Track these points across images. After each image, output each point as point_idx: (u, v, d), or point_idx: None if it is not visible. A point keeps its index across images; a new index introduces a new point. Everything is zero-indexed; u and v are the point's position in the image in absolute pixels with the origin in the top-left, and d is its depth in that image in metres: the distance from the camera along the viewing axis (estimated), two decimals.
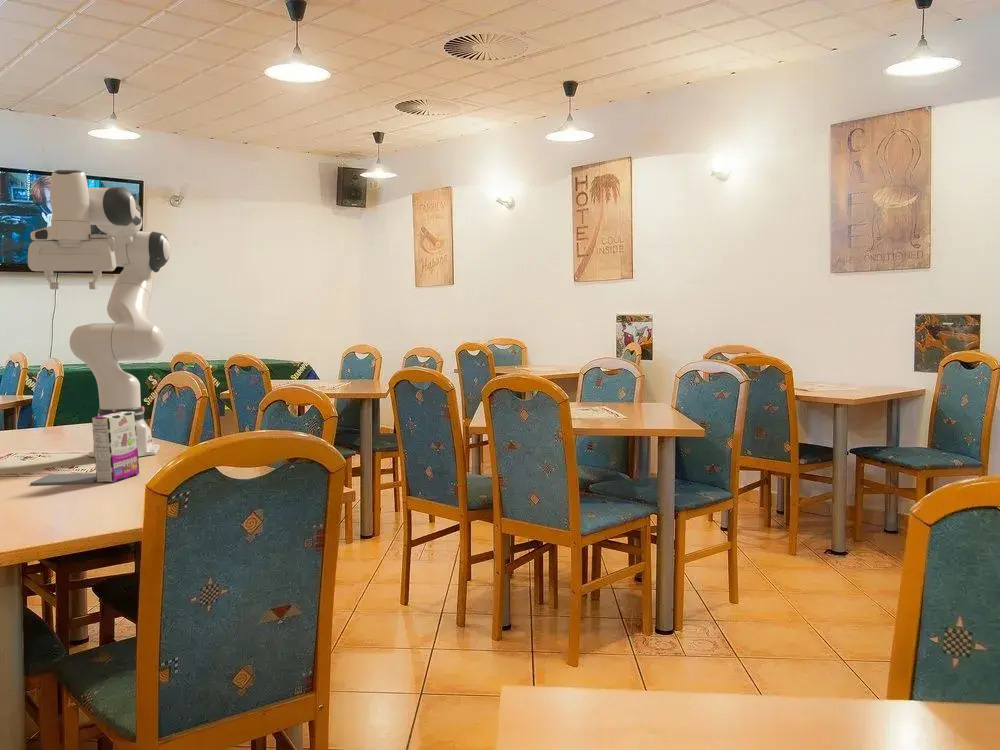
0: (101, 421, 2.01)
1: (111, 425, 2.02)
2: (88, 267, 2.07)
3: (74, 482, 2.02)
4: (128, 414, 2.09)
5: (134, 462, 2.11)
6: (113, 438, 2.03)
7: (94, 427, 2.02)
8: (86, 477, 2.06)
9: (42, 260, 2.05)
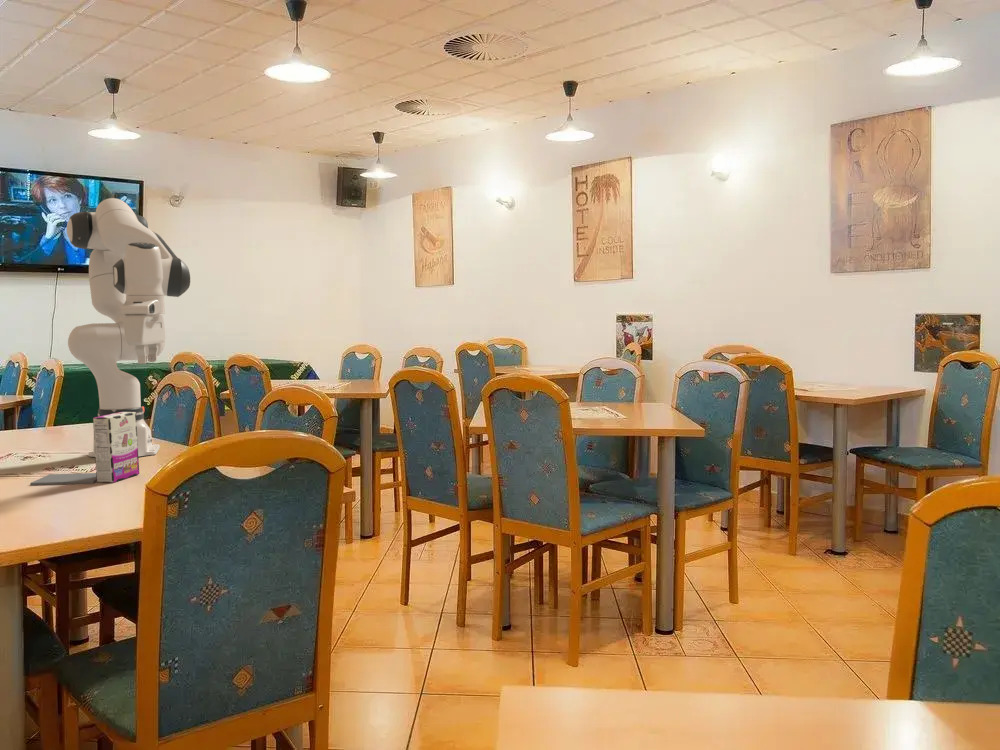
0: (101, 422, 2.01)
1: (112, 425, 2.02)
2: (159, 340, 2.11)
3: (74, 482, 2.02)
4: (129, 414, 2.09)
5: (134, 462, 2.11)
6: (113, 438, 2.03)
7: (95, 427, 2.02)
8: (86, 477, 2.06)
9: (145, 334, 2.00)
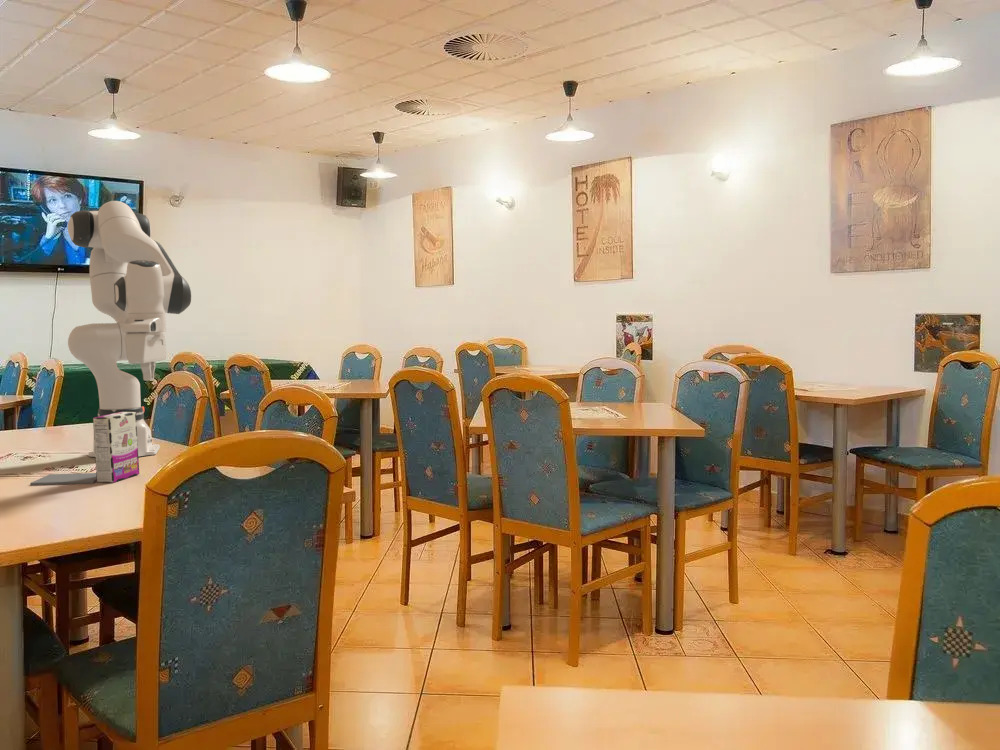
0: (101, 422, 2.01)
1: (112, 425, 2.02)
2: (160, 357, 2.11)
3: (74, 482, 2.02)
4: (129, 414, 2.09)
5: (134, 462, 2.11)
6: (113, 438, 2.03)
7: (95, 427, 2.02)
8: (86, 477, 2.06)
9: (147, 352, 2.00)
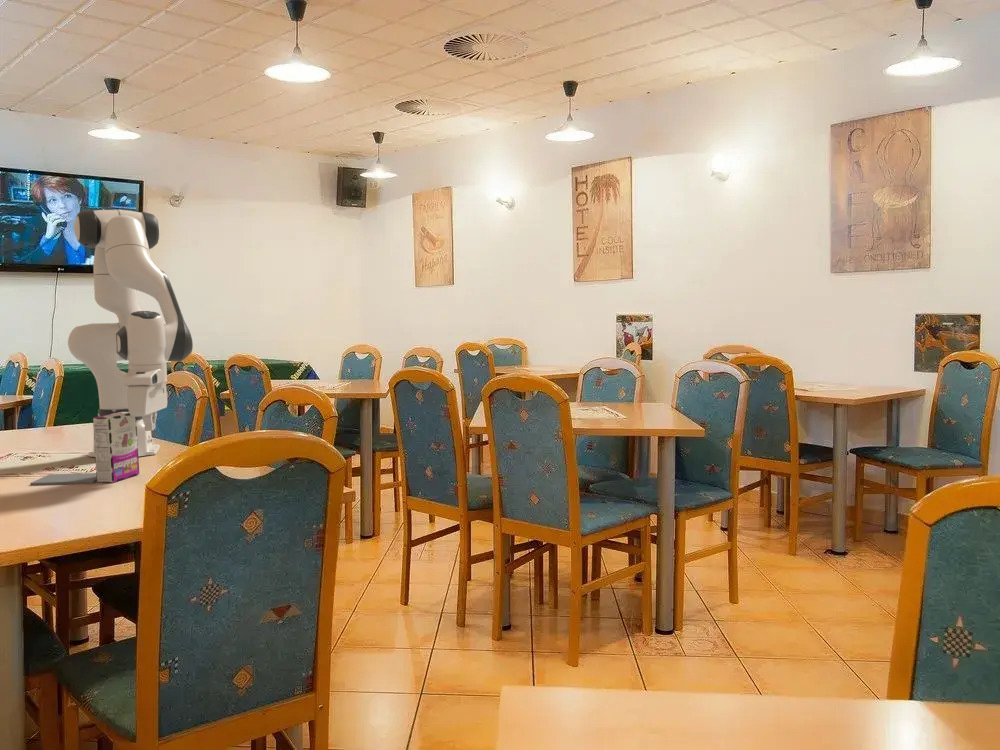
0: (101, 422, 2.01)
1: (112, 425, 2.02)
2: (161, 407, 2.12)
3: (74, 482, 2.02)
4: (129, 414, 2.09)
5: (134, 462, 2.11)
6: (113, 438, 2.03)
7: (95, 427, 2.02)
8: (86, 477, 2.06)
9: (148, 404, 2.01)
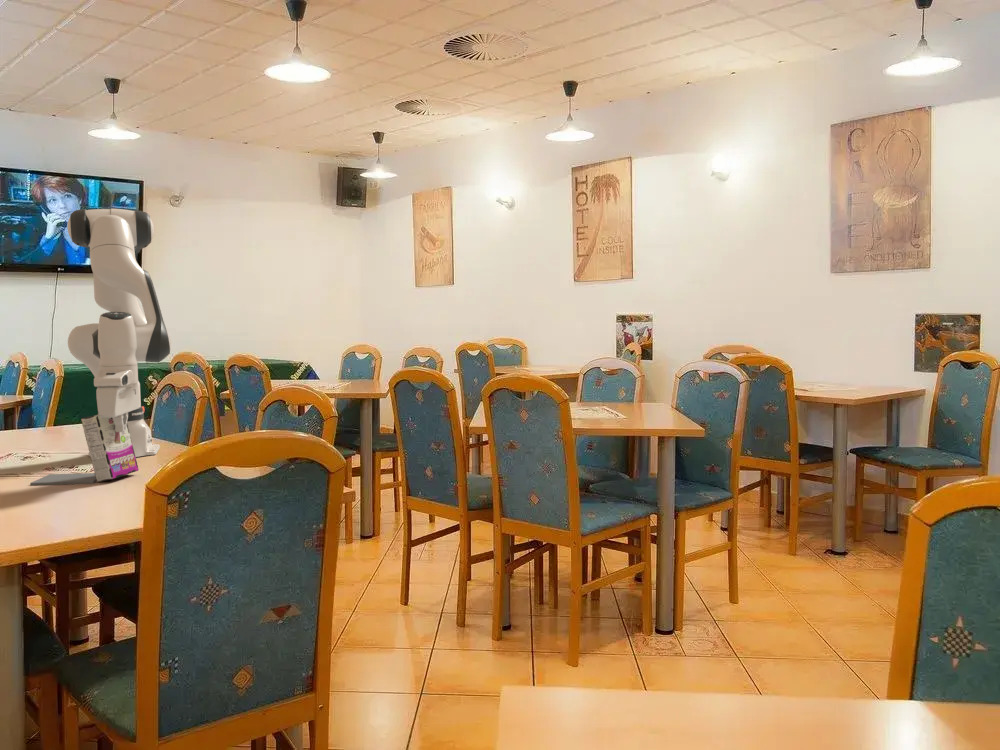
0: (90, 420, 2.02)
1: (101, 422, 2.02)
2: (133, 407, 2.11)
3: (74, 482, 2.02)
4: None
5: (131, 459, 2.11)
6: (105, 435, 2.03)
7: (85, 427, 2.02)
8: (86, 477, 2.06)
9: (118, 405, 2.01)
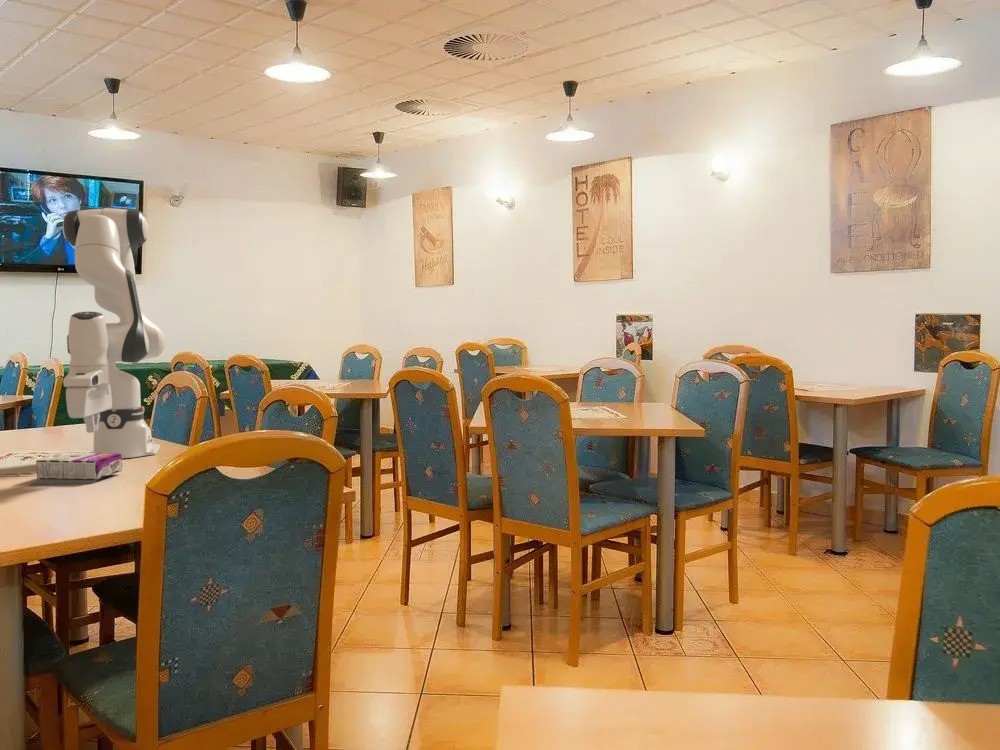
0: (39, 468, 2.05)
1: (45, 459, 2.05)
2: (105, 408, 2.11)
3: (74, 482, 2.02)
4: (57, 454, 2.12)
5: (105, 454, 2.12)
6: (58, 459, 2.05)
7: (45, 475, 2.05)
8: None
9: (88, 406, 2.00)
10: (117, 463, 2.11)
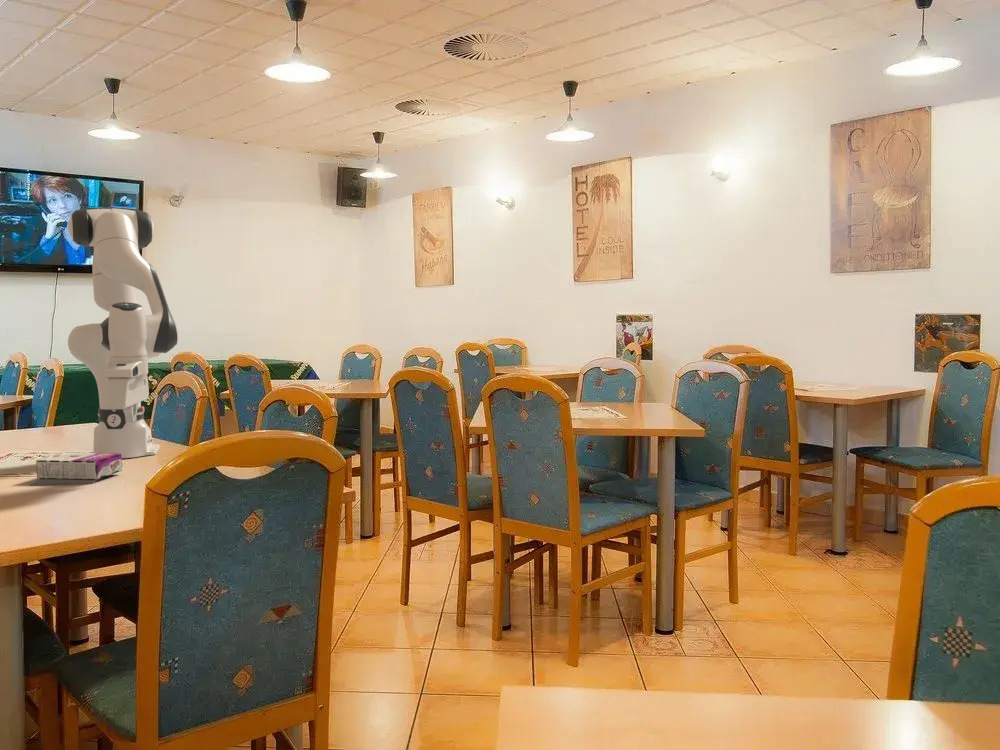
0: (39, 468, 2.05)
1: (45, 459, 2.05)
2: (142, 398, 2.12)
3: (74, 482, 2.02)
4: (57, 454, 2.12)
5: (105, 454, 2.12)
6: (58, 459, 2.05)
7: (45, 475, 2.05)
8: None
9: (129, 397, 2.01)
10: (117, 463, 2.11)
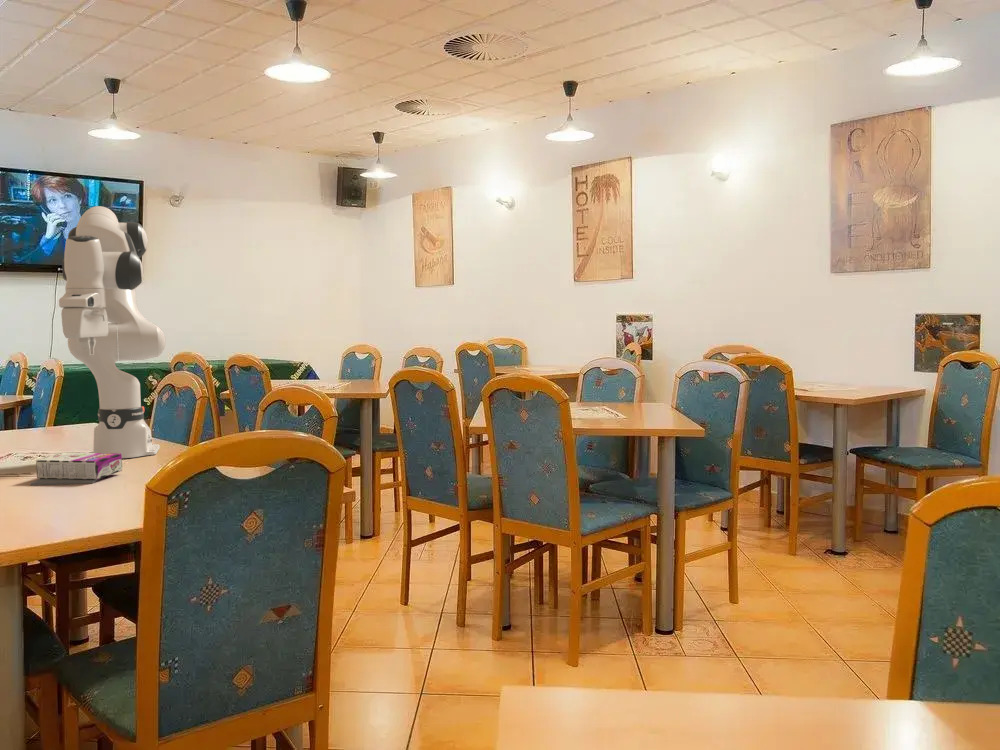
0: (39, 468, 2.05)
1: (45, 459, 2.05)
2: (101, 333, 2.11)
3: (74, 482, 2.02)
4: (57, 454, 2.12)
5: (105, 454, 2.12)
6: (58, 459, 2.05)
7: (45, 475, 2.05)
8: None
9: (84, 327, 2.00)
10: (117, 463, 2.11)
